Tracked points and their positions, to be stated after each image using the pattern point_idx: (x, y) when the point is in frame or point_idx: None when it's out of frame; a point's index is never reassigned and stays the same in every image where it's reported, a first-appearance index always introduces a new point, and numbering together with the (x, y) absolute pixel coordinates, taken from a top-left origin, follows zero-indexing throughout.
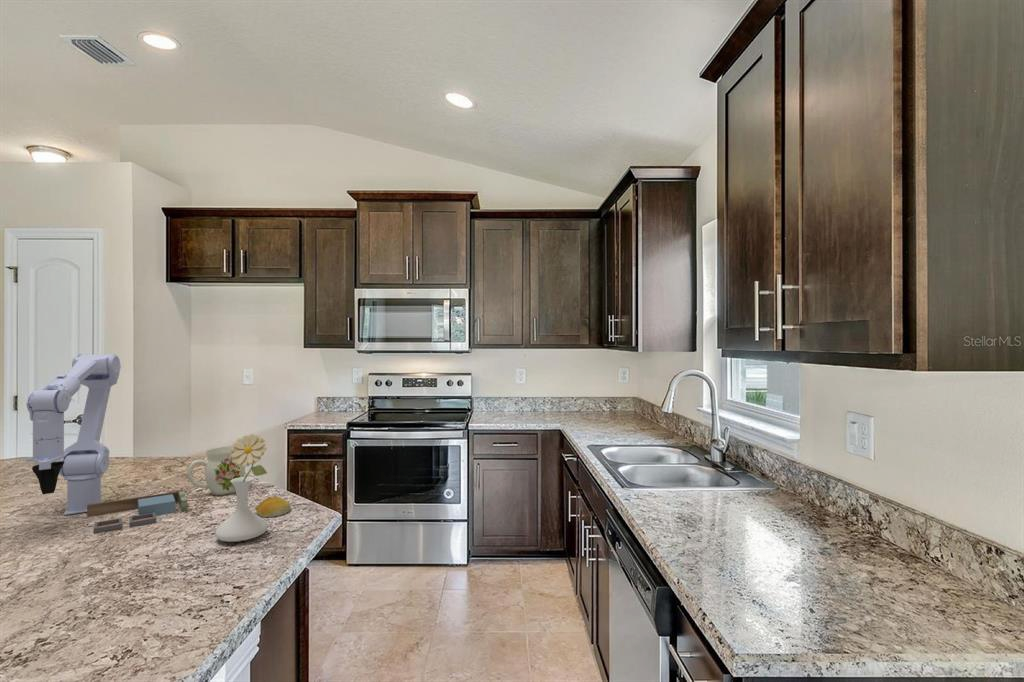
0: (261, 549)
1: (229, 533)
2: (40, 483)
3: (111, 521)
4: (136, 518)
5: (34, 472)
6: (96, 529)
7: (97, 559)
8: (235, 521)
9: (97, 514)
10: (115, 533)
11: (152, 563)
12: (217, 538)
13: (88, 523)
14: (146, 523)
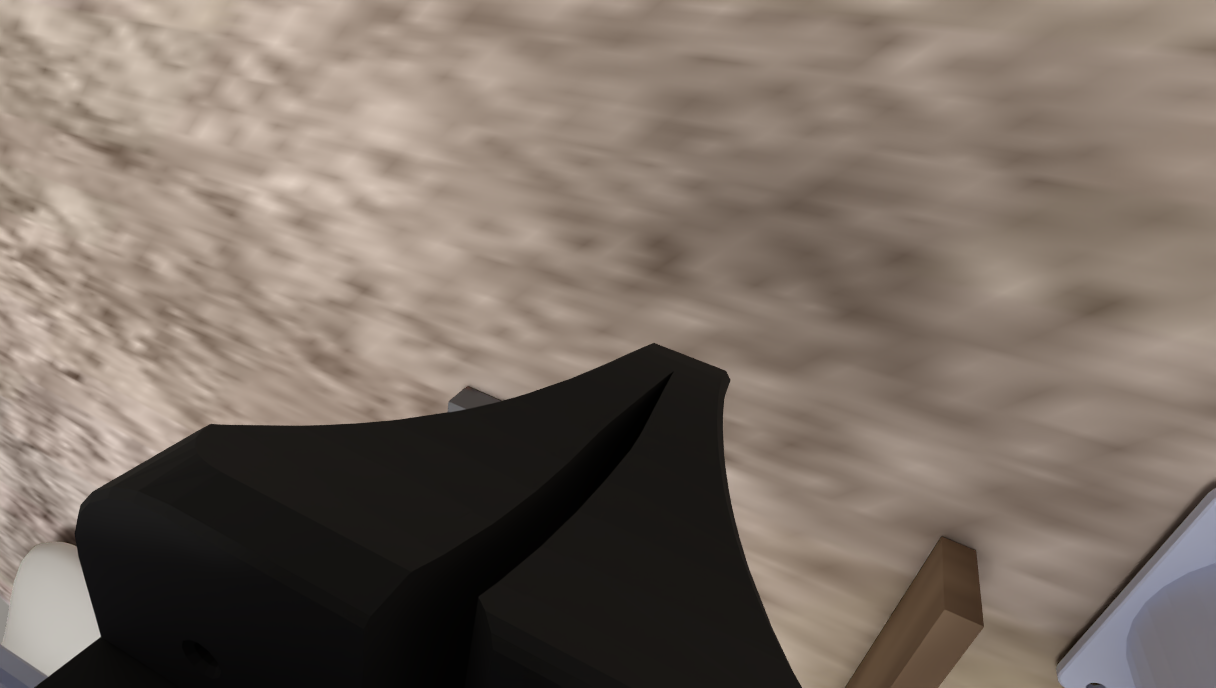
0: (16, 548)
1: (21, 565)
2: (539, 397)
3: None
4: None
5: (246, 428)
6: (451, 409)
7: (100, 252)
8: (8, 615)
9: (911, 588)
10: None
11: (5, 349)
12: (74, 546)
13: (732, 464)
14: None
